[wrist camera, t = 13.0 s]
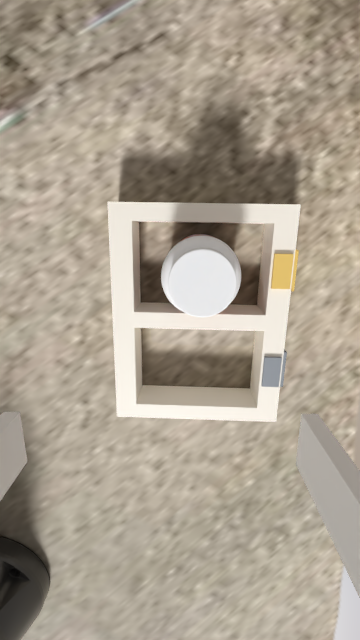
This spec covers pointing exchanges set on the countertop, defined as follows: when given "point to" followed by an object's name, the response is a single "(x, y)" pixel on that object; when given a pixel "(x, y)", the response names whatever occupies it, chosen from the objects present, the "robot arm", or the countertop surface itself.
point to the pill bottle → (201, 275)
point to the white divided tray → (259, 318)
